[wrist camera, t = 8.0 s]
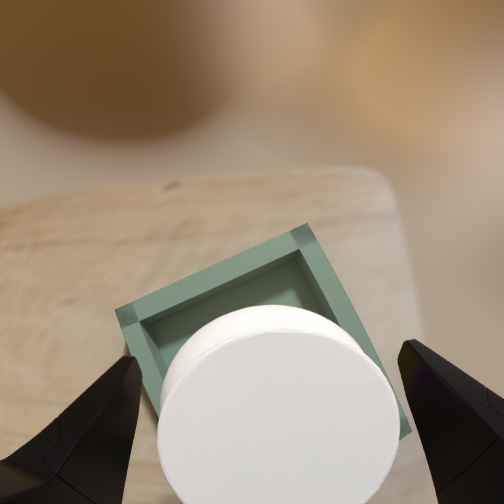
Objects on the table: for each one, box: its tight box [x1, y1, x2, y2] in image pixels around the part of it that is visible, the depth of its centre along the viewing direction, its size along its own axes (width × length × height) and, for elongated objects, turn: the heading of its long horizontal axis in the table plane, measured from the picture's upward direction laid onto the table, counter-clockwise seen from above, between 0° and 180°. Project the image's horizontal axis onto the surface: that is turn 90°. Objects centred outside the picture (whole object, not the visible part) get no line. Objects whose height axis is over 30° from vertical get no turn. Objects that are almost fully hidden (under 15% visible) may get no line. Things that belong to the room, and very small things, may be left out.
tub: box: [115, 223, 412, 440], centre depth 16 cm, size 14×12×2 cm
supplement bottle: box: [157, 305, 400, 504], centre depth 11 cm, size 7×7×13 cm
